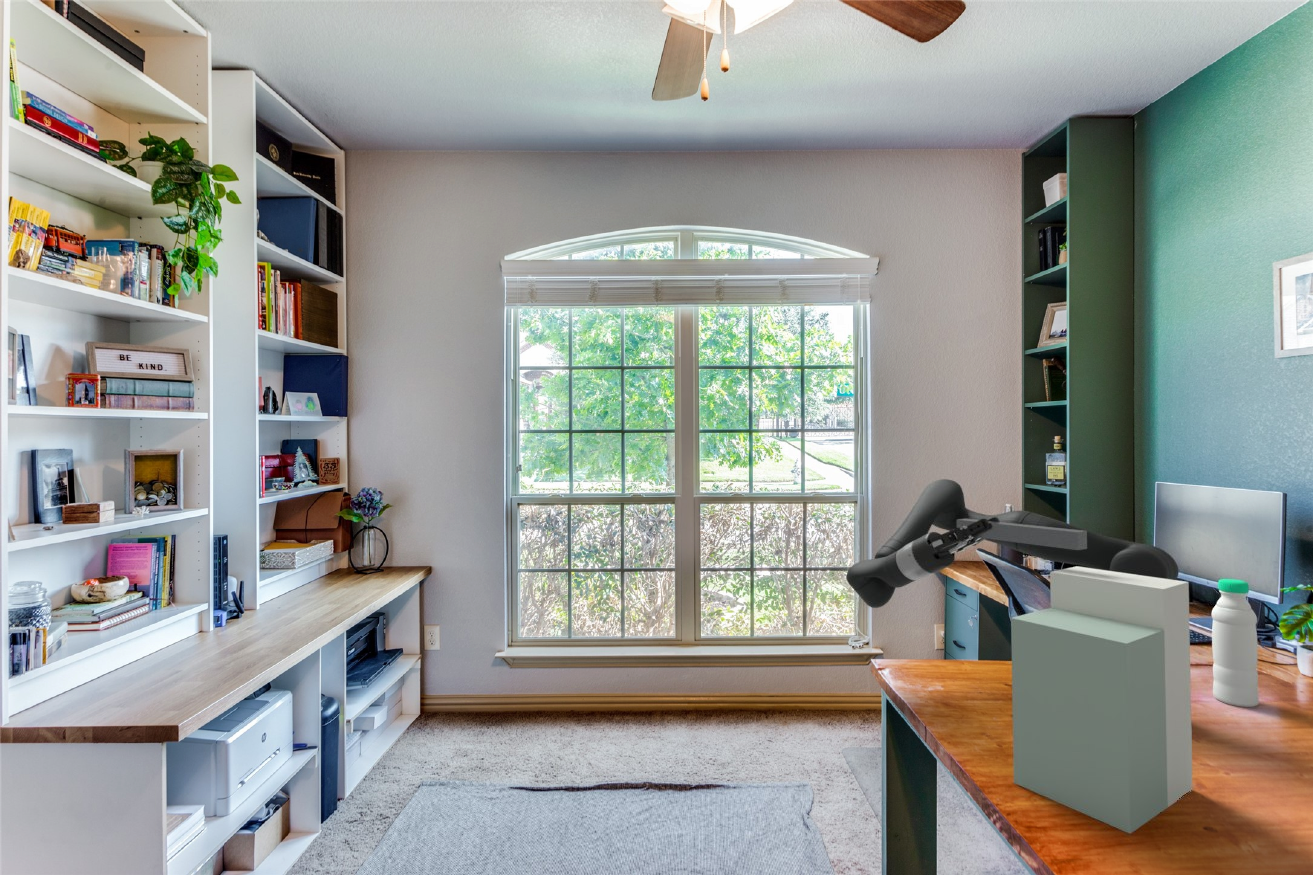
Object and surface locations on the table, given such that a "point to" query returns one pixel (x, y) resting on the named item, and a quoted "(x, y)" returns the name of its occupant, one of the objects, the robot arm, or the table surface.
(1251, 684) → the water bottle
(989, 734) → the table surface
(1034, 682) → the stepped stand
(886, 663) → the table surface
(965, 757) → the table surface
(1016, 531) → the steel bar
